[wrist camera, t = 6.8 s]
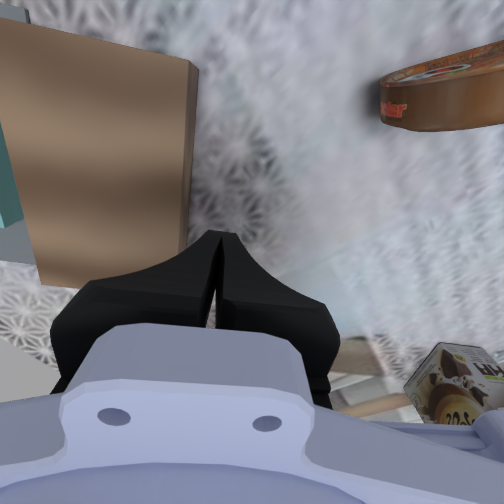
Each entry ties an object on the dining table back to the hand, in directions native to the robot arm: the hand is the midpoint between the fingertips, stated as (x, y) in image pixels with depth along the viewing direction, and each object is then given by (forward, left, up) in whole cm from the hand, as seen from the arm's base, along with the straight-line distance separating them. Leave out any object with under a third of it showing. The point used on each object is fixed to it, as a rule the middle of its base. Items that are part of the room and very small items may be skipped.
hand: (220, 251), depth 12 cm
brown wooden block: (-1, +8, -10) cm, 13 cm away
